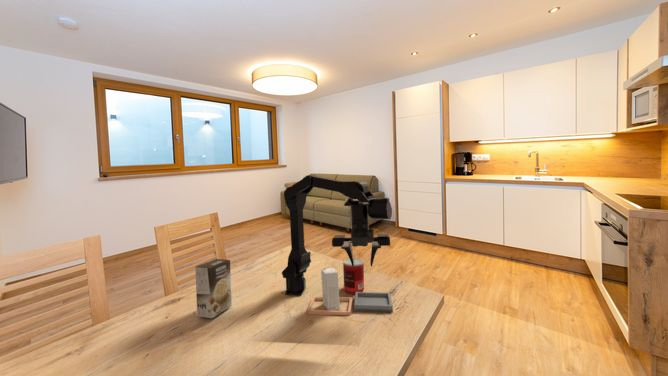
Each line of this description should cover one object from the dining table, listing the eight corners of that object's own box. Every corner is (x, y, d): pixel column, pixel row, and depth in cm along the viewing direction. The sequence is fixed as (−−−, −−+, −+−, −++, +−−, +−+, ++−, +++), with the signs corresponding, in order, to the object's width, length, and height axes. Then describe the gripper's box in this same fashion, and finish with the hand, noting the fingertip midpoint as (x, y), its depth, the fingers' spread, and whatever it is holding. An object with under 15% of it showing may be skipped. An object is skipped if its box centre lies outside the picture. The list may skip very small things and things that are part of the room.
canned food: (364, 285, 107) (363, 258, 107) (364, 294, 99) (363, 264, 99) (344, 285, 108) (343, 258, 108) (343, 294, 100) (342, 264, 100)
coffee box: (212, 319, 85) (210, 268, 84) (196, 316, 87) (194, 266, 87) (232, 305, 94) (230, 259, 93) (217, 303, 96) (215, 258, 95)
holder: (306, 314, 86) (306, 310, 86) (313, 299, 97) (313, 296, 97) (350, 315, 85) (350, 312, 85) (352, 300, 95) (352, 297, 95)
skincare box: (340, 309, 89) (339, 272, 88) (327, 312, 87) (326, 274, 87) (334, 301, 94) (333, 267, 94) (321, 303, 93) (320, 268, 93)
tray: (354, 311, 87) (354, 304, 87) (355, 297, 97) (355, 291, 97) (392, 312, 86) (392, 305, 86) (390, 298, 96) (389, 292, 96)
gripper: (327, 223, 83) (330, 274, 84) (390, 221, 81) (392, 274, 81) (333, 218, 94) (335, 263, 95) (388, 216, 92) (390, 262, 92)
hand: (362, 266), depth 90 cm, fingers open, 6 cm apart
